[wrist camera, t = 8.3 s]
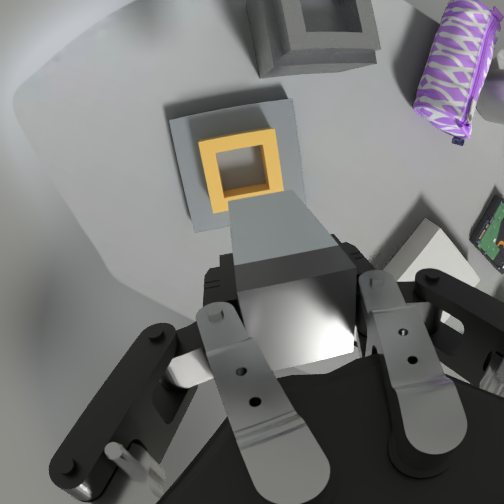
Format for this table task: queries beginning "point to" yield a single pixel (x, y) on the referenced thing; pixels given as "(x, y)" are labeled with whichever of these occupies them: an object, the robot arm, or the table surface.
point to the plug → (291, 280)
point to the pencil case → (458, 67)
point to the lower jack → (236, 157)
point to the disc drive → (429, 258)
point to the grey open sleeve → (312, 35)
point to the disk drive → (491, 234)
